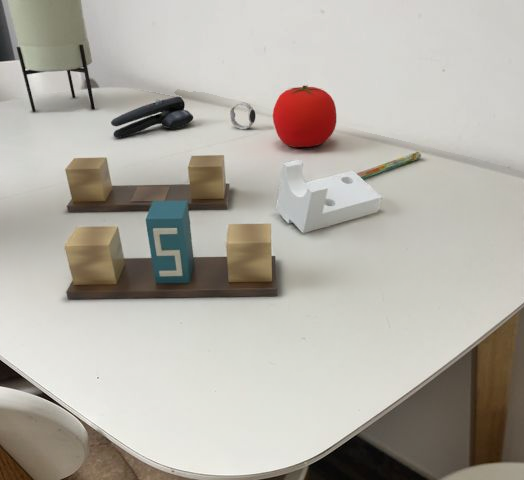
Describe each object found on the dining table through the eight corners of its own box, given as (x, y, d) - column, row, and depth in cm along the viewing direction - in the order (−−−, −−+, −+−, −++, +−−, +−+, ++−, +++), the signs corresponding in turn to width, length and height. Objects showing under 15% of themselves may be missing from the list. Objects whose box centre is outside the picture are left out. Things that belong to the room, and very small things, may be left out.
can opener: (180, 118, 125) (177, 91, 122) (197, 125, 121) (194, 97, 118) (105, 134, 117) (100, 106, 114) (121, 142, 113) (116, 112, 109)
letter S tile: (155, 284, 66) (144, 219, 61) (161, 263, 70) (152, 200, 65) (189, 284, 66) (182, 219, 61) (194, 262, 70) (187, 200, 65)
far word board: (68, 212, 85) (58, 172, 82) (81, 192, 92) (73, 154, 88) (227, 209, 85) (224, 169, 81) (230, 189, 91) (227, 151, 88)
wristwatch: (250, 131, 117) (249, 105, 114) (229, 128, 118) (227, 103, 116) (256, 127, 119) (256, 102, 116) (235, 125, 121) (234, 100, 118)
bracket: (301, 238, 79) (311, 192, 73) (275, 209, 82) (283, 163, 77) (375, 217, 84) (389, 172, 78) (347, 190, 87) (359, 146, 82)
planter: (104, 96, 144) (85, -12, 130) (93, 113, 131) (71, -4, 117) (43, 98, 143) (18, -9, 129) (26, 115, 130) (-4, -2, 116)
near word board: (67, 299, 65) (55, 252, 62) (85, 265, 72) (75, 221, 68) (276, 296, 65) (276, 248, 61) (275, 262, 71) (275, 217, 68)
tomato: (317, 132, 115) (319, 76, 109) (346, 149, 106) (350, 89, 100) (263, 140, 111) (261, 83, 105) (287, 158, 103) (288, 96, 96)
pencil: (350, 184, 92) (421, 159, 101) (350, 178, 91) (422, 152, 100) (344, 182, 93) (415, 157, 101) (345, 175, 92) (416, 151, 101)
